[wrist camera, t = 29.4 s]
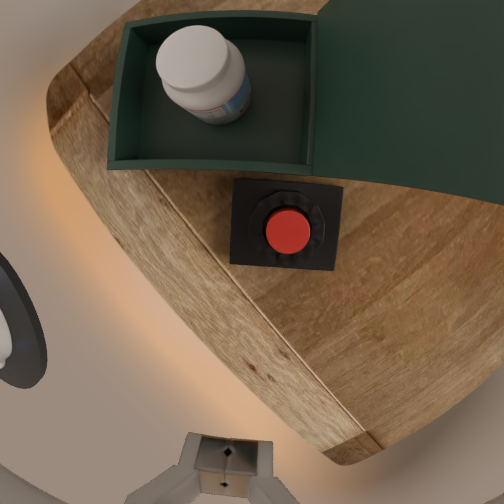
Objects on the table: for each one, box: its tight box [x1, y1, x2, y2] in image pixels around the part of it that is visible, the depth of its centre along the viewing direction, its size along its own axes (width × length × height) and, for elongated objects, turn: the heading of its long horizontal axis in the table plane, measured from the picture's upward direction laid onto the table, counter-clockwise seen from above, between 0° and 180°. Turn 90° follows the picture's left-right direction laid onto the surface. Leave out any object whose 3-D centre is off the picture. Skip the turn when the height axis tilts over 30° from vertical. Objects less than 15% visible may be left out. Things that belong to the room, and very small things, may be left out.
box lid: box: [313, 0, 504, 206], centre depth 12 cm, size 18×15×5 cm
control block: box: [230, 178, 343, 271], centre depth 27 cm, size 10×8×4 cm
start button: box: [266, 208, 310, 254], centre depth 25 cm, size 4×4×2 cm
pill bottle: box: [156, 25, 251, 125], centre depth 20 cm, size 6×6×11 cm
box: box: [107, 10, 318, 176], centre depth 24 cm, size 18×15×6 cm
